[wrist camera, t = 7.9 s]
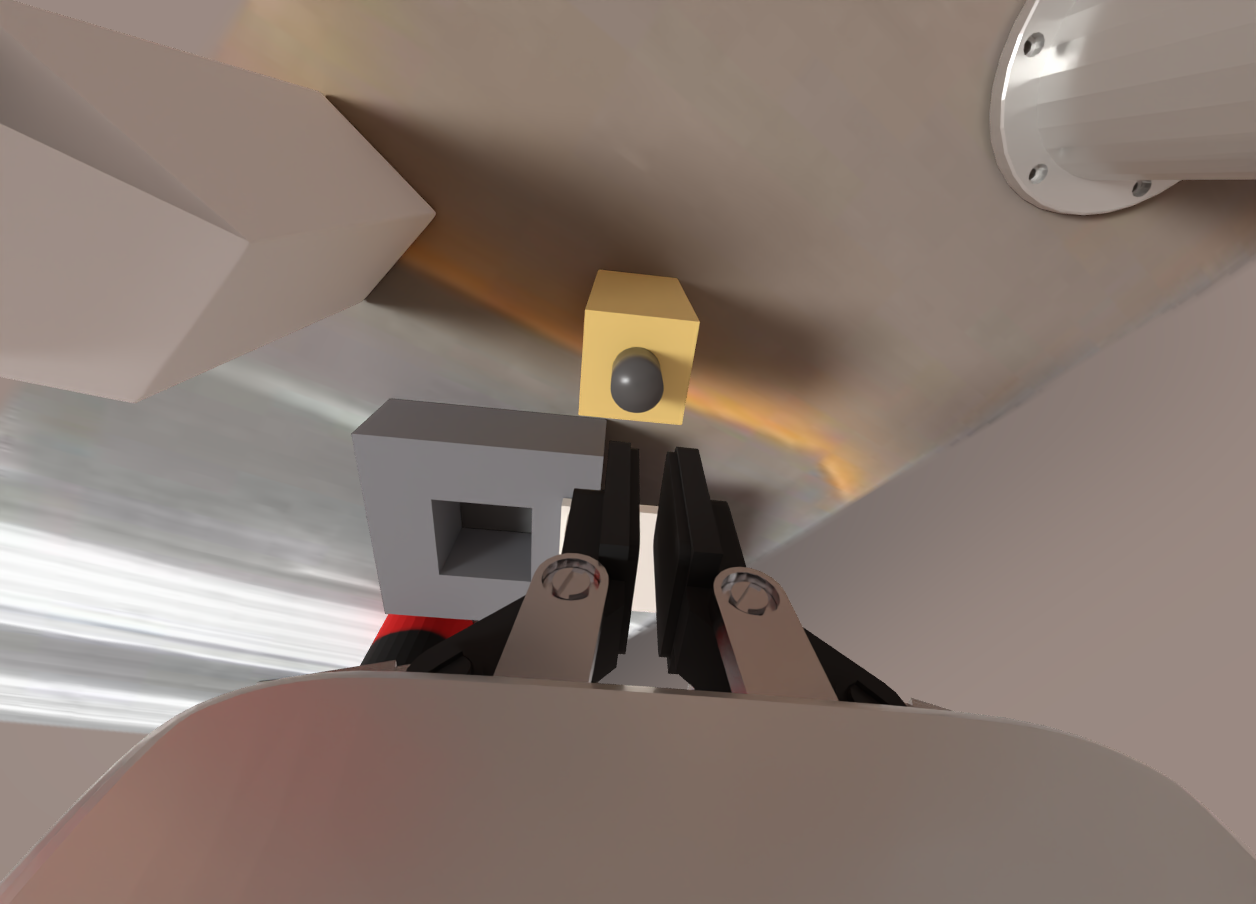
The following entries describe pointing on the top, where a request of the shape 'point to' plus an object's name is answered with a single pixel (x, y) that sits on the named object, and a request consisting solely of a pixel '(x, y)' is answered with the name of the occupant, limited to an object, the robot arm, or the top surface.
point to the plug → (637, 348)
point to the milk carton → (173, 209)
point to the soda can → (410, 637)
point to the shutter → (645, 571)
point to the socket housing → (467, 499)
